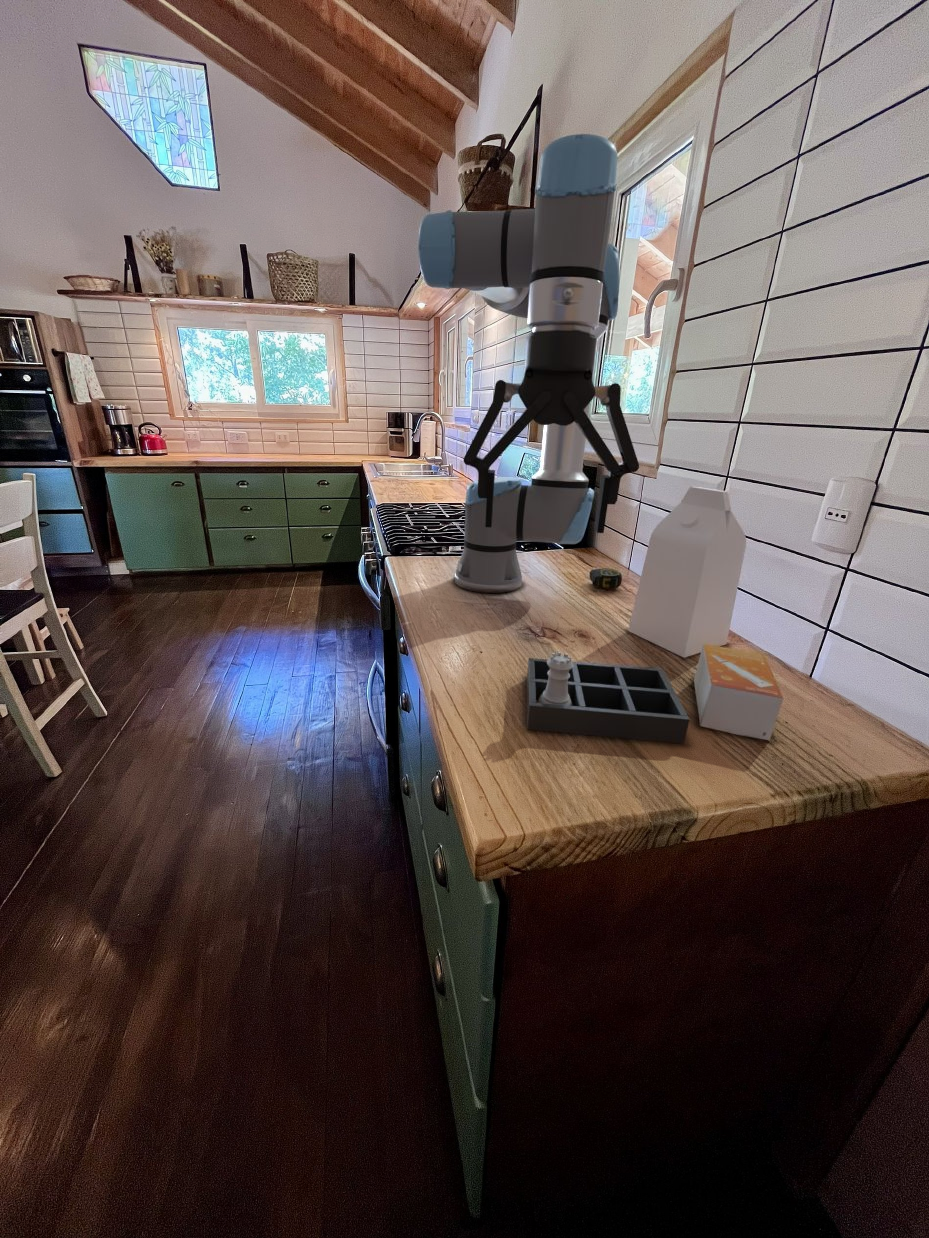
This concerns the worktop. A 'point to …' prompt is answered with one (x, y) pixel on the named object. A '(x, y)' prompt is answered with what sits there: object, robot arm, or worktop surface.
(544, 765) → the worktop surface
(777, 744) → the worktop surface
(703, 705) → the small box
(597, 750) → the worktop surface
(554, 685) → the rook chess piece
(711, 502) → the milk
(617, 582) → the tape measure
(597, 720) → the grid tray
